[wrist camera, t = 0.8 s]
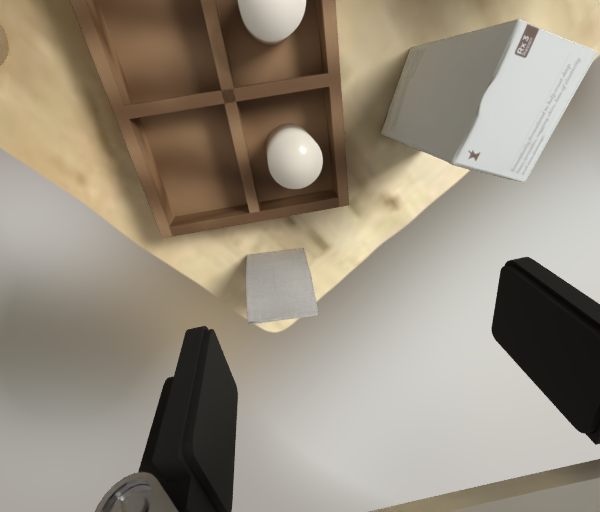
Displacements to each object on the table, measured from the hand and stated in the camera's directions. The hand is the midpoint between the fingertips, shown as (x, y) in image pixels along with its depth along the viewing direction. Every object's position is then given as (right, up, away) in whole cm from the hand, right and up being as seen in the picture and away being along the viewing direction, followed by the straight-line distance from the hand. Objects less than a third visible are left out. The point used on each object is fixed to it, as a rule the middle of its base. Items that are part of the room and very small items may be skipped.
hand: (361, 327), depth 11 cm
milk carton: (-5, +1, +30) cm, 30 cm away
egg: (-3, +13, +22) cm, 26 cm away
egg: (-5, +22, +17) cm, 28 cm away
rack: (-8, +17, +20) cm, 28 cm away
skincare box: (+10, +18, +22) cm, 30 cm away
